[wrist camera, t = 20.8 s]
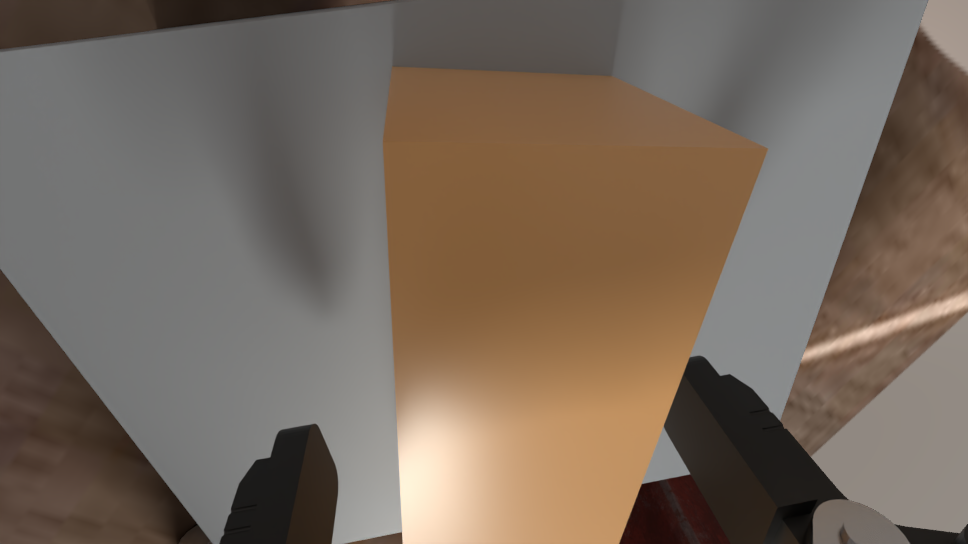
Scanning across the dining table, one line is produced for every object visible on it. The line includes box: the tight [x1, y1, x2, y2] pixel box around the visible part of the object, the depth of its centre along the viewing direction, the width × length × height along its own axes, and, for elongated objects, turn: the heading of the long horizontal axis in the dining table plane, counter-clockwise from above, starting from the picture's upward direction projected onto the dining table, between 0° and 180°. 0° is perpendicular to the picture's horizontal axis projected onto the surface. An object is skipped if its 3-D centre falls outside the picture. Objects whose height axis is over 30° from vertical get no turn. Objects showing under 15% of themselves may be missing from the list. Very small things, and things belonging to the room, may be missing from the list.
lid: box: [0, 0, 928, 544], centre depth 14 cm, size 17×20×1 cm
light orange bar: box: [383, 66, 768, 544], centre depth 11 cm, size 14×4×5 cm, turn 176°
